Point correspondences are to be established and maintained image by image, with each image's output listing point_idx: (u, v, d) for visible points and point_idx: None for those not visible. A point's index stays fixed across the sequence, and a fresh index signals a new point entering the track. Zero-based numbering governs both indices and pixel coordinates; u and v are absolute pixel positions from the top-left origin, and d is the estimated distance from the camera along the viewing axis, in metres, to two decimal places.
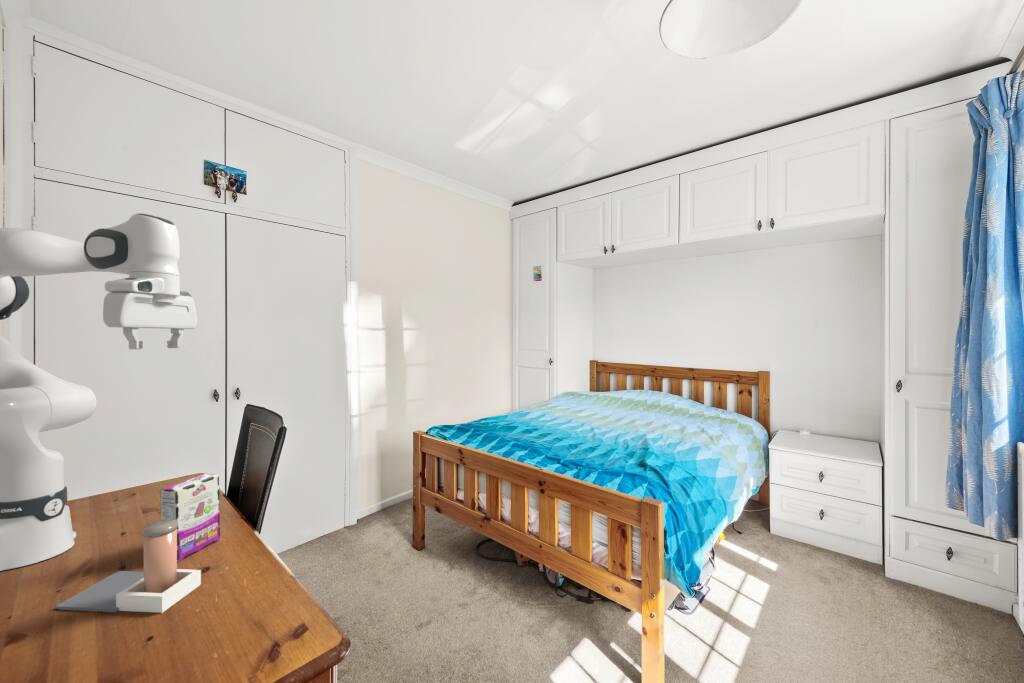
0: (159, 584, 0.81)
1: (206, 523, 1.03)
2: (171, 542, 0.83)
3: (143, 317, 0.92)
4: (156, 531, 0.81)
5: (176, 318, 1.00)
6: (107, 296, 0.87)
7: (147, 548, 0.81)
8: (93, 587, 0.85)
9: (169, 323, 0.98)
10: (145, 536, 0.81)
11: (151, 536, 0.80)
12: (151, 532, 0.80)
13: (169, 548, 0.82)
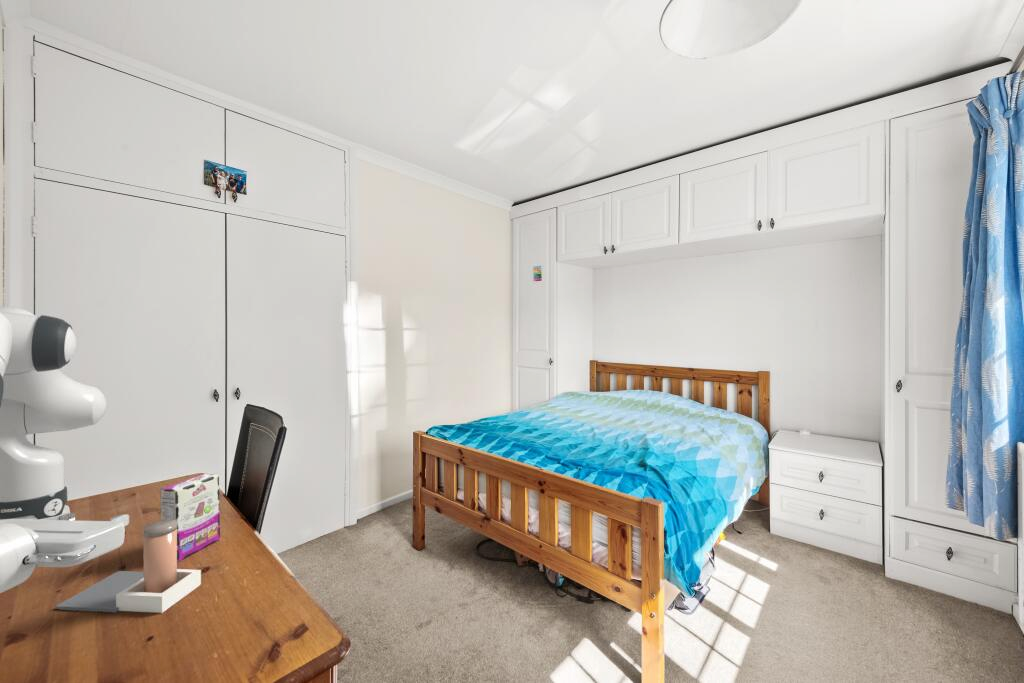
0: (159, 584, 0.81)
1: (206, 523, 1.03)
2: (171, 542, 0.83)
3: None
4: (156, 531, 0.81)
5: None
6: None
7: (147, 548, 0.81)
8: (93, 587, 0.85)
9: None
10: (145, 536, 0.81)
11: (151, 536, 0.80)
12: (151, 532, 0.80)
13: (169, 548, 0.82)
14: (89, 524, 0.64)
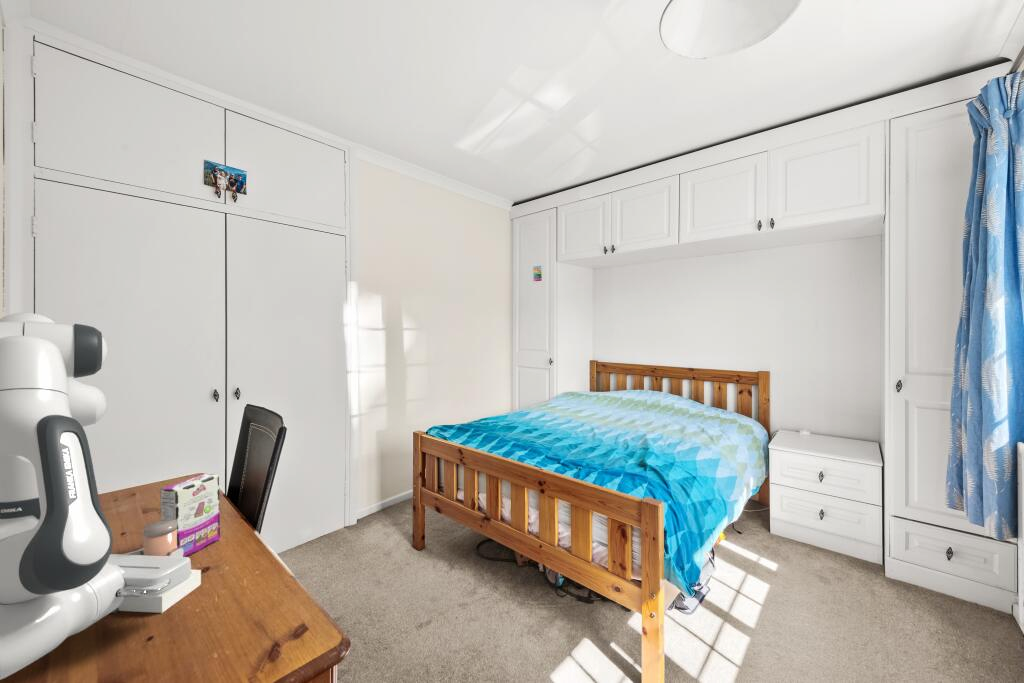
0: None
1: (206, 523, 1.03)
2: (171, 542, 0.83)
3: None
4: (156, 531, 0.81)
5: None
6: None
7: (147, 548, 0.81)
8: None
9: None
10: (145, 536, 0.81)
11: (151, 536, 0.80)
12: (151, 532, 0.80)
13: (169, 548, 0.82)
14: (162, 560, 0.77)
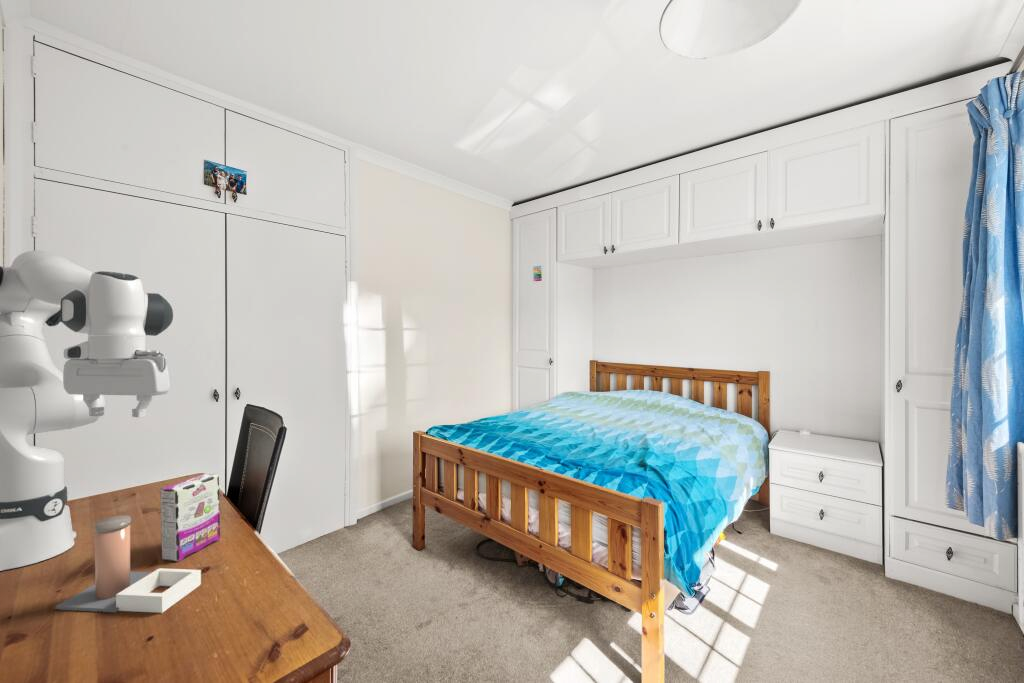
0: (109, 580, 0.81)
1: (206, 523, 1.03)
2: (122, 539, 0.83)
3: (87, 384, 0.87)
4: (106, 527, 0.81)
5: (125, 383, 0.86)
6: None
7: (97, 544, 0.81)
8: (93, 587, 0.85)
9: (117, 389, 0.87)
10: (96, 531, 0.81)
11: (101, 532, 0.81)
12: (101, 528, 0.80)
13: (119, 545, 0.82)
14: None
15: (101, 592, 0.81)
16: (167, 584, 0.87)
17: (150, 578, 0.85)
